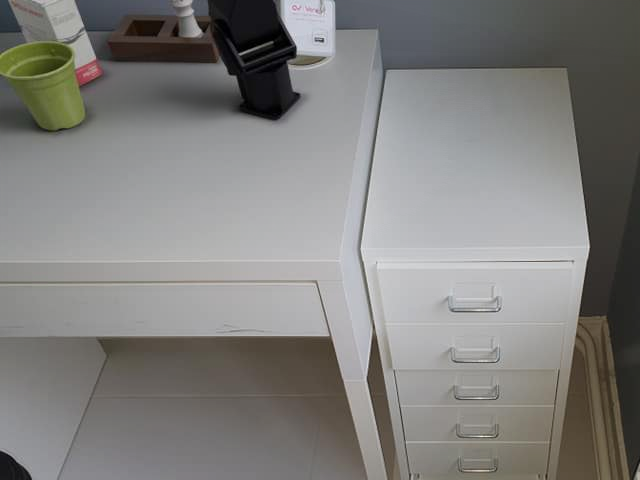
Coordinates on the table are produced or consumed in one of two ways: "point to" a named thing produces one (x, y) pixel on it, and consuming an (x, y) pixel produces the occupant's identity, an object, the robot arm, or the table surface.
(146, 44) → the wooden compartment tray
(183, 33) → the rook chess piece
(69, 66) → the plant pot
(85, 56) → the ink box
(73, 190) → the table surface
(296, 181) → the table surface
